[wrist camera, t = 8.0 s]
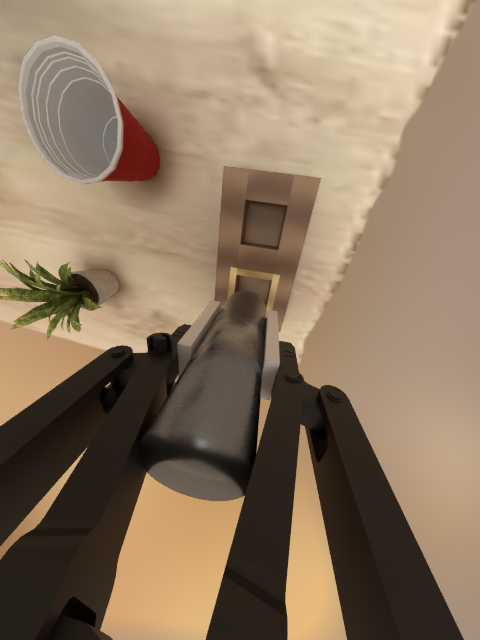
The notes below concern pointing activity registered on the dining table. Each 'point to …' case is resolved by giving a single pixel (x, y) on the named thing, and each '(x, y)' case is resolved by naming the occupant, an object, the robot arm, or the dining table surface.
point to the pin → (213, 409)
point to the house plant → (60, 294)
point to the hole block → (262, 234)
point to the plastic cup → (80, 117)
